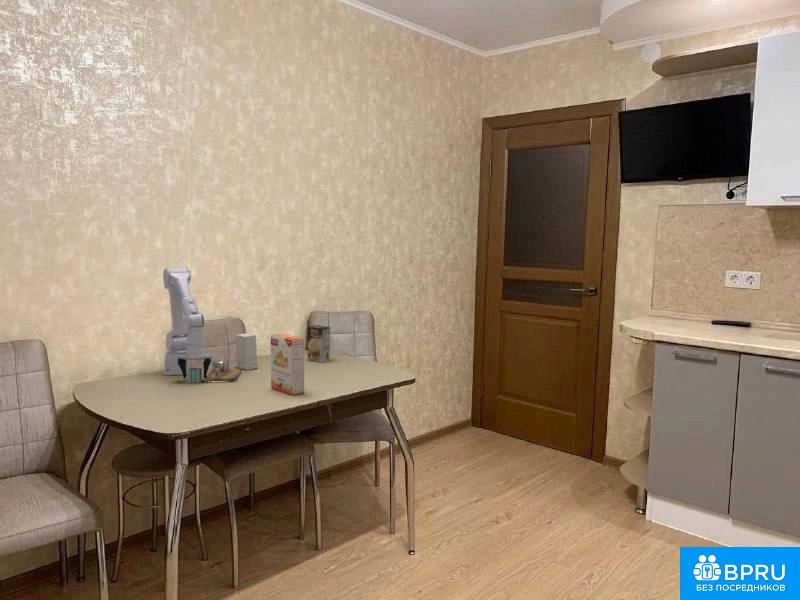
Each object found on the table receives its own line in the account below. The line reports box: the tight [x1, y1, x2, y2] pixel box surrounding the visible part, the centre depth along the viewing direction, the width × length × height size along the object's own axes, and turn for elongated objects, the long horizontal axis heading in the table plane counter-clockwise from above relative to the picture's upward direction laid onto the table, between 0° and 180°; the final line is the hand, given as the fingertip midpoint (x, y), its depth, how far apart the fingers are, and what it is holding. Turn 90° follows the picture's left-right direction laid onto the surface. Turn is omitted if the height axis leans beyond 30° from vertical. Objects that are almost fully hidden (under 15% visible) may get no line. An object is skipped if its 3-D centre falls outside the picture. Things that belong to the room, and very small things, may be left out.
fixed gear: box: [212, 358, 230, 372], centre depth 260 cm, size 6×6×5 cm
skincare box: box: [235, 333, 258, 371], centre depth 273 cm, size 8×6×15 cm
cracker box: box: [270, 333, 305, 396], centre depth 234 cm, size 14×6×21 cm, turn 45°
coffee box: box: [306, 324, 331, 364], centre depth 291 cm, size 9×6×16 cm
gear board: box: [203, 368, 243, 383], centre depth 255 cm, size 12×18×4 cm, turn 7°
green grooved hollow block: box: [187, 366, 203, 384], centre depth 247 cm, size 4×6×5 cm
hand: (195, 377), depth 247 cm, fingers open, 7 cm apart
